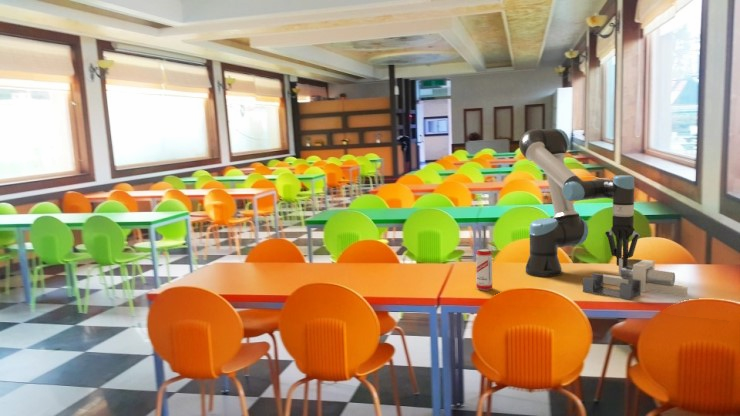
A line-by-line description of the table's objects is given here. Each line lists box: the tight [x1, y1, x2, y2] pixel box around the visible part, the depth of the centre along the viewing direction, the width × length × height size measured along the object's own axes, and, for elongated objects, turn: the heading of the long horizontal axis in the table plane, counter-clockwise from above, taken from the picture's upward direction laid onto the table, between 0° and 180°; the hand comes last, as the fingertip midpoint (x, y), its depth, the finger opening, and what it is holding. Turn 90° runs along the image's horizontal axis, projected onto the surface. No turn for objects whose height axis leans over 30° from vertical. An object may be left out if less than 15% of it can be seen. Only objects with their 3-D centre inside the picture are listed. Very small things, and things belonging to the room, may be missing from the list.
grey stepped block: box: [603, 259, 689, 297], centre depth 216 cm, size 31×11×10 cm, turn 44°
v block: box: [582, 272, 641, 301], centre depth 212 cm, size 18×9×6 cm, turn 44°
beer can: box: [475, 248, 493, 291], centre depth 224 cm, size 6×6×16 cm
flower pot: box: [627, 258, 643, 267], centre depth 231 cm, size 10×10×7 cm
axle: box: [620, 266, 676, 286], centre depth 215 cm, size 18×5×5 cm, turn 44°
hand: (621, 274), depth 222 cm, fingers closed
